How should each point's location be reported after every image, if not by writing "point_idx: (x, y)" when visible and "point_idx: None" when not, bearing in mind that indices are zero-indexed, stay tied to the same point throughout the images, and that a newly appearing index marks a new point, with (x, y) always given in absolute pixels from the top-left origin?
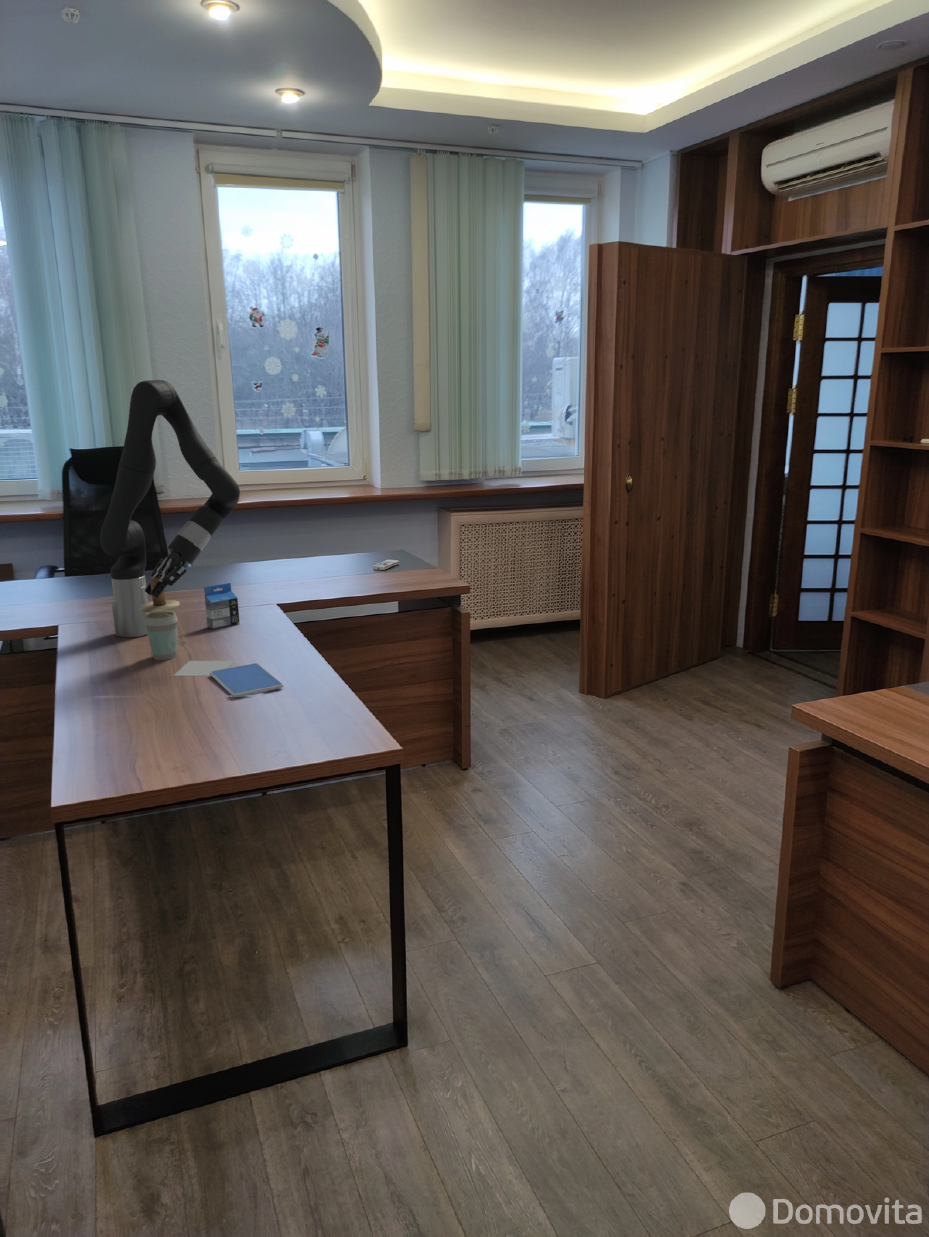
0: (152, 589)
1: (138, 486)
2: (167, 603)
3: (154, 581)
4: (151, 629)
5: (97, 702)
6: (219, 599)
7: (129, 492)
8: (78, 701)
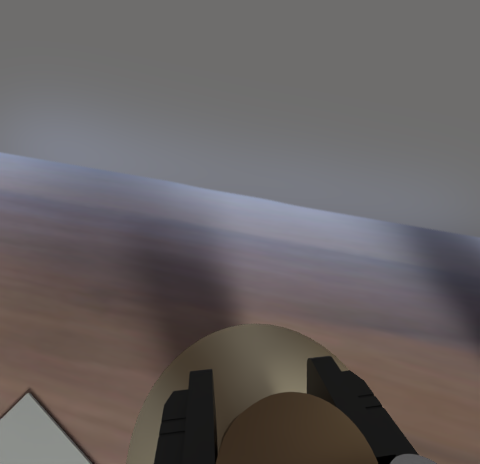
0: (206, 389)
1: None
2: None
3: (229, 429)
4: None
5: (29, 203)
6: None
7: None
8: (68, 181)
